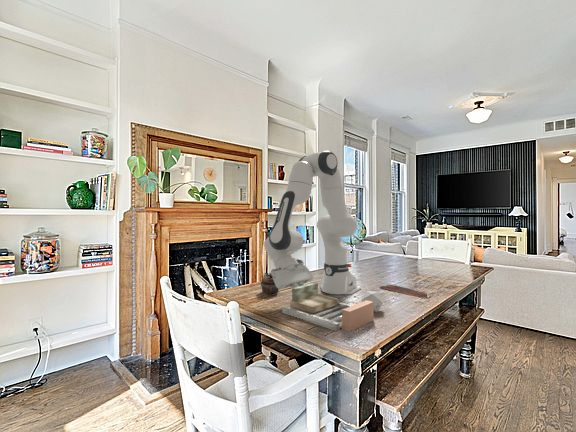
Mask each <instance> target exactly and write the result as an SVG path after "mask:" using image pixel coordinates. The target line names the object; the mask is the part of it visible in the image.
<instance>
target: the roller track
mask: <svg viewBox="0 0 576 432" xmlns="http://www.w3.org/2000/svg"><path fill="white" fill-rule="evenodd" d="M350 306H353V305H352V304H348V303H344V302H340V301H338V305H335V306H333V307H330V308H327V309H324V310H322V311H319V312H316V313H313V314H312V313H309V312H306V311H303V310H300V309H296V308H293V307H290V306H287V305H283V306H282V309H281V310H282V311H281V313H283V314H284V315H287V314H288V316H290V315H291V317H293V316H294V317H293V318H296V317H297V319H299V318H300V319H299V320H302V319H303V321H305V322H308V323H311V324H315V325H317V326H320V327H323V328H326V329H329V330H332V331H334V332H338V331H340V330H341V329H342V310H343V309H345V308H348V307H350Z"/></svg>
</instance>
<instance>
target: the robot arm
mask: <svg viewBox="0 0 576 432" xmlns="http://www.w3.org/2000/svg"><path fill="white" fill-rule="evenodd" d="M314 177H318V178H319V186H320V188H319V189H320V194H321V195H320V196H321V202H322V206H323V207H324V208H325V209H326V211H327V213H328V214H326V215H322V216H321V217H319V218H318V220H317V223H316V227H317V230H318V232H319V234H320V235H321V238H322V242H323V247H324V263H323V270H324V272H323V273H322V281H321V285H320V289H321V291H322V292H323V293H326V294H330V295H353V294H354V293H356V292H358V291H360V290H362V286H360V285H358V283H357V277H356V276H355V275H354V274H353V273H352V272H351V271H350V270H349V268H350V269H351V268H352V263H347V262H348V261H347V260H348V257H347V256H348V249H347V247H346V245H345V243H343V240H342V238H349V237H353V235H355V234H356V232H357V230H358V224H357V221H356V219H355V218H354V217H353V216H352V215H351V213H350V211H349V210H348V207H347V205H346V204H347V203H346V201H345V197H344V196H345V195H344V194H345V193H344V187H343V181H342V176H341V172H340V170H339V168H338V158H337V156H336V154H335V153H334V152H333V151H330V150H323V151H317V152H314V153H311V154H308V155H304V156H302V157H300V158H299V160H298V161H297V162H295V163H294V164H293V165H292V168H291V171H290V173H289V178H288V182H287V187H286V191H285V192H284V193H283V195H282V198H281V199H280V204H279V205H278V206H279V207H278V210H277V214H276V217H275V220H274V223H273V226H272V228H271V230H269V231H270V232H269V235H268V236H267V238H266V239H265V241H264V243H263V245H264V250H265V252H266V253H267V256H268V258H269V260H271V262H272V263H273V266H274V267H275V268H273V269H271V271H270V273H271V275H272V277H273V280H274V283H275V285H276V287H277V288H278V289H279V290H283V289H287V288H291V289H292V288H295V287H299V286H303V285H305V284H308V283H310V282H311V281H312V279H313V277H314V276H313V274H312V272H311V271H310V269H309V268H308V266H306V265H305V261H304V260H303V259H298V258H295V257H293V256H292V254H295V253H296V252H298V251H299V250H300V249H301V248H302V247H303V245H304V236H303V234H302V233H301V232H300V231H297V230H295V229H292V228H291V229H290V223H291V218H292V213H293V210H294V209H295V207H296V206H298V205H301V204H302V205H303V204H305V203H306V202H307V201H308V200H309V199H310V196H311V193H312V187H313V178H314Z"/></svg>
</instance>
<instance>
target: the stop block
mask: <svg viewBox="0 0 576 432" xmlns="http://www.w3.org/2000/svg"><path fill="white" fill-rule="evenodd" d="M373 309H374V302H372V301H368V300H366V301H363V302H362V301H361V302H359V303H356V304H353V305H352V306H350V307H348V308H345V309H343V310H342V328H341V330H342V331H345V332H348V333H349V332H352V331H354V330H356V329H359V328H360V327H363V326H365V325H366V324H368V323H371V322H373V321H374V312H373Z"/></svg>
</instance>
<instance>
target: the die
mask: <svg viewBox="0 0 576 432" xmlns="http://www.w3.org/2000/svg"><path fill="white" fill-rule="evenodd" d="M366 300H368V301H372V302H374V309H373V313H379V312H380V309H381V307H382V305H383V300H382V297H381V293H380V291H374V290H373V291H372V290H366V291H365V293H364V295H363V296H362V298H361V302H363V301H366Z"/></svg>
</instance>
